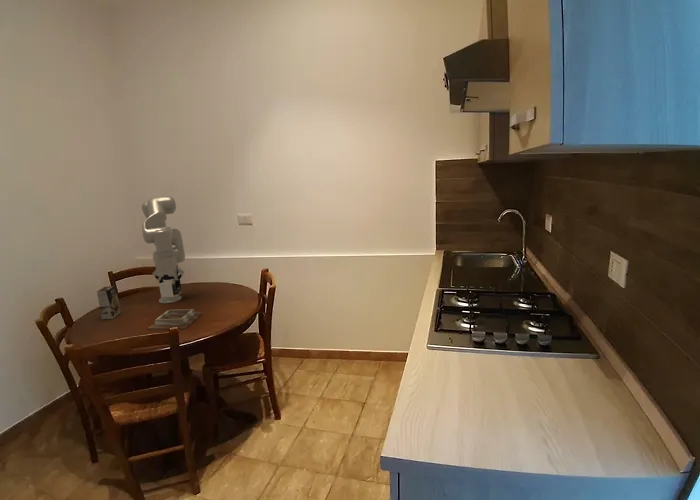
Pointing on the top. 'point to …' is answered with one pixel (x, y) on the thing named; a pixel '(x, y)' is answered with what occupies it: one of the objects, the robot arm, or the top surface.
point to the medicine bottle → (169, 287)
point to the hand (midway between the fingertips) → (170, 287)
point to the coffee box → (108, 302)
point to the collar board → (175, 319)
